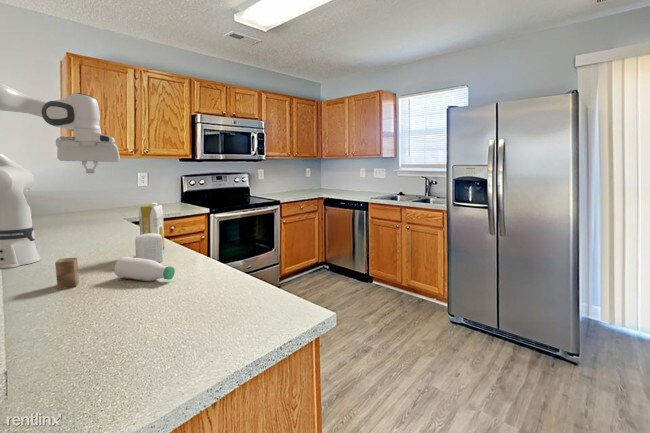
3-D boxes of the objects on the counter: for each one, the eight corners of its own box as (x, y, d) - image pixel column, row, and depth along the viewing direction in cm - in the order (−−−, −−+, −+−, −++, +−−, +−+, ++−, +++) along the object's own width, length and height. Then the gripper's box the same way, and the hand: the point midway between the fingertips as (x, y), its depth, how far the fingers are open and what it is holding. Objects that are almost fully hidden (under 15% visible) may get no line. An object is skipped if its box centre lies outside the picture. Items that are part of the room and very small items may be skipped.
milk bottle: (110, 273, 122) (161, 279, 119) (119, 253, 126) (170, 258, 122) (123, 280, 129) (172, 287, 125) (132, 261, 132) (180, 267, 129)
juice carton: (157, 258, 153) (154, 204, 150) (139, 258, 153) (135, 203, 150) (166, 253, 163) (164, 202, 159) (149, 252, 163) (147, 201, 159)
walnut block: (57, 289, 115) (55, 262, 114) (61, 284, 120) (59, 258, 118) (75, 287, 117) (73, 261, 116) (79, 282, 122) (77, 257, 120)
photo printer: (162, 259, 152) (161, 231, 150) (164, 261, 149) (162, 233, 147) (135, 262, 147) (133, 233, 145) (136, 265, 143) (135, 235, 141)
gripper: (52, 135, 128) (56, 173, 130) (117, 137, 136) (119, 173, 138) (57, 136, 134) (61, 173, 136) (119, 139, 142) (121, 173, 144)
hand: (91, 173), depth 137 cm, fingers closed
